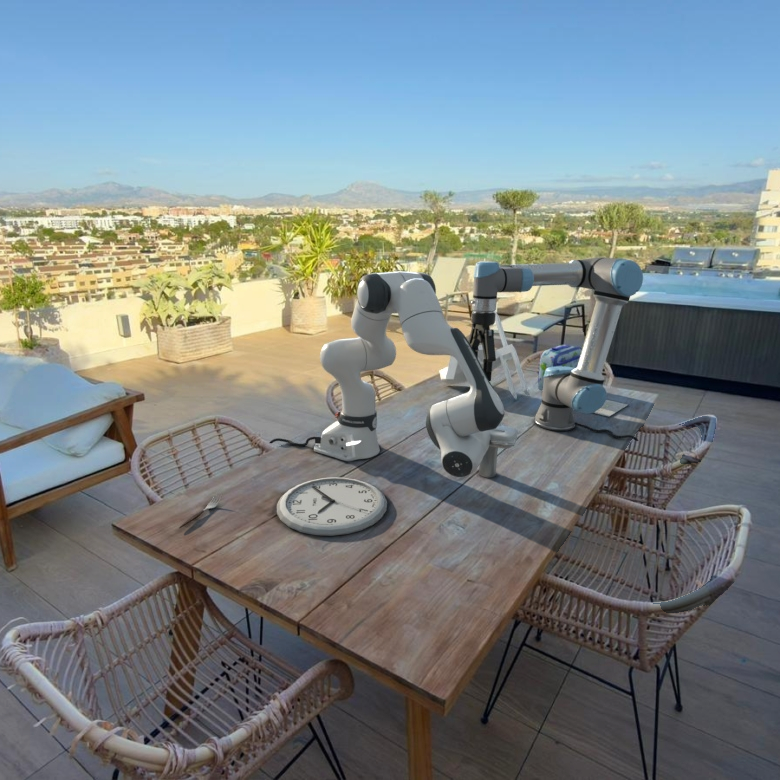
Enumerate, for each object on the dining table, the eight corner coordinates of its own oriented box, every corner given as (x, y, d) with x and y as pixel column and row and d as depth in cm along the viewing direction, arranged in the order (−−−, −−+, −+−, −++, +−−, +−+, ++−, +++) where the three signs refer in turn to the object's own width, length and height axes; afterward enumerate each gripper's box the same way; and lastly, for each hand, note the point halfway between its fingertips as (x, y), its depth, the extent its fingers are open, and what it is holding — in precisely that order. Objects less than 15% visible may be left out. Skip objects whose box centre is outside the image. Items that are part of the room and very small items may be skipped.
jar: (483, 478, 160) (486, 430, 155) (476, 471, 164) (479, 424, 160) (498, 476, 161) (502, 429, 156) (491, 469, 166) (495, 423, 161)
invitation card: (608, 416, 214) (573, 407, 224) (608, 416, 214) (573, 408, 224) (628, 404, 229) (594, 396, 238) (628, 405, 229) (594, 397, 238)
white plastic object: (461, 429, 252) (437, 405, 227) (444, 352, 274) (420, 323, 250) (535, 404, 240) (518, 377, 215) (510, 326, 262) (492, 293, 237)
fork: (174, 529, 130) (174, 521, 130) (216, 499, 144) (215, 492, 144) (183, 531, 129) (182, 524, 129) (223, 501, 144) (223, 494, 143)
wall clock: (392, 527, 129) (268, 531, 127) (391, 533, 130) (269, 537, 127) (383, 473, 158) (282, 475, 155) (383, 478, 158) (282, 480, 156)
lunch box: (554, 397, 237) (559, 352, 231) (533, 392, 244) (538, 348, 238) (581, 386, 255) (586, 344, 248) (560, 381, 262) (565, 340, 256)
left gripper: (514, 435, 129) (522, 417, 141) (435, 423, 136) (449, 407, 148) (512, 458, 130) (520, 438, 143) (434, 445, 138) (448, 427, 150)
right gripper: (460, 305, 178) (457, 365, 184) (486, 317, 155) (481, 386, 161) (481, 305, 179) (477, 365, 186) (510, 317, 156) (504, 385, 162)
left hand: (483, 422), depth 145 cm, fingers open, 8 cm apart
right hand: (479, 375), depth 173 cm, fingers open, 13 cm apart
